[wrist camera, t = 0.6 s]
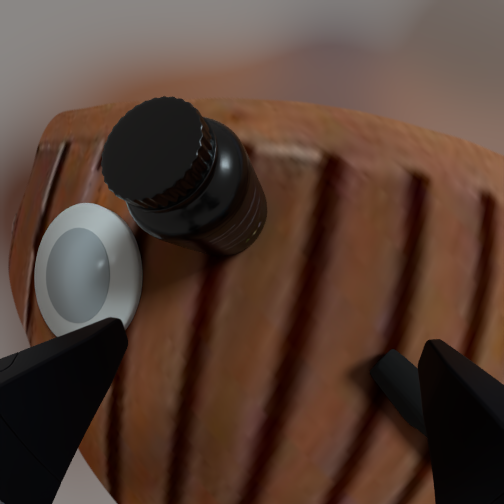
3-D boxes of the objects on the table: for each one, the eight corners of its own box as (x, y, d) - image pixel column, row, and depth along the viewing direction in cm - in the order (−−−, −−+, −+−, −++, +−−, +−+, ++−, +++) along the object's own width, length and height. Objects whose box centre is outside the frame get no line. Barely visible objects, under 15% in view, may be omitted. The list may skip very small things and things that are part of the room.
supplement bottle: (166, 226, 23) (60, 176, 11) (216, 157, 23) (148, 61, 11) (233, 277, 21) (152, 262, 10) (287, 201, 21) (266, 108, 10)
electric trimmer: (390, 331, 20) (403, 338, 16) (479, 436, 16) (494, 449, 13) (354, 367, 20) (361, 379, 17) (449, 464, 16) (462, 481, 13)
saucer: (121, 371, 22) (110, 375, 20) (35, 310, 25) (24, 311, 23) (163, 228, 23) (153, 223, 21) (66, 194, 26) (55, 190, 24)
